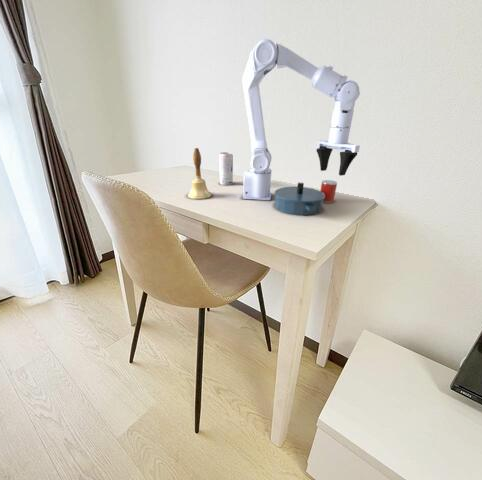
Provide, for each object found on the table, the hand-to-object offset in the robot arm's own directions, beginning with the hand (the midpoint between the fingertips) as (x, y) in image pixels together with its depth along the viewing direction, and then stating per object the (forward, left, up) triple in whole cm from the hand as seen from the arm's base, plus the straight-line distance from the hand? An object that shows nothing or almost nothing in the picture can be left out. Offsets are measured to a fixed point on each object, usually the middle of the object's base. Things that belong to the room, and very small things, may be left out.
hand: (332, 172), depth 84 cm
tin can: (0, 0, -10) cm, 10 cm away
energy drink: (-38, +15, -10) cm, 42 cm away
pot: (-10, -8, -10) cm, 16 cm away
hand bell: (-44, -3, -10) cm, 46 cm away
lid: (-10, -8, -6) cm, 15 cm away
